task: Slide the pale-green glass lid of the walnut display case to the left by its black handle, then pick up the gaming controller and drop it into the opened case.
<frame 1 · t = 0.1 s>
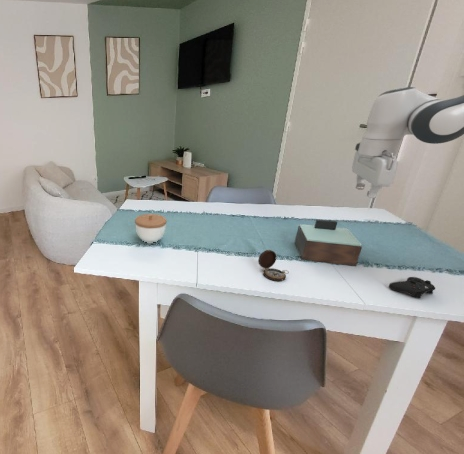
hand: (364, 193, 92), 23 cm above the table, tool pointing down, fingers open, 8 cm apart
case lid: (328, 230, 100), point 9 cm above the table, slide at 0.0 cm
display case: (322, 253, 103), on the table
lidded bowl: (150, 240, 120), on the table
gaming controller: (411, 291, 82), on the table
compass: (274, 275, 93), on the table
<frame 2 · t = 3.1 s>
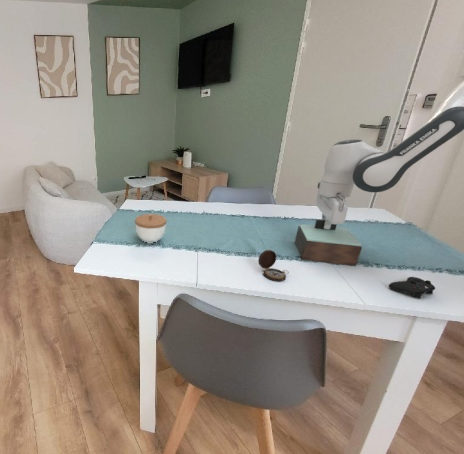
hand: (325, 226, 104), 8 cm above the table, tool pointing down, fingers closed on case lid
case lid: (328, 230, 100), point 9 cm above the table, slide at 0.0 cm, touching gripper
everything else where it was.
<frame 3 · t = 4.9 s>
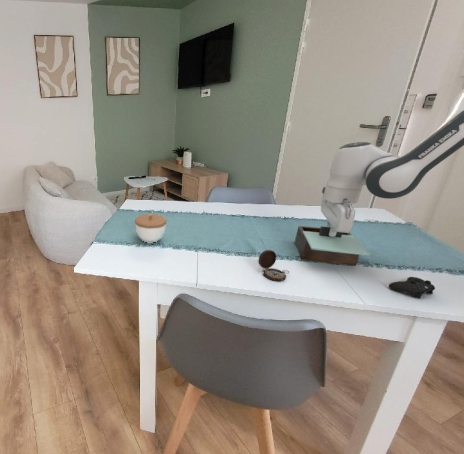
hand: (330, 234, 98), 8 cm above the table, tool pointing down, fingers closed on case lid
case lid: (334, 238, 94), point 9 cm above the table, slide at 6.5 cm, touching gripper
everything else where it was.
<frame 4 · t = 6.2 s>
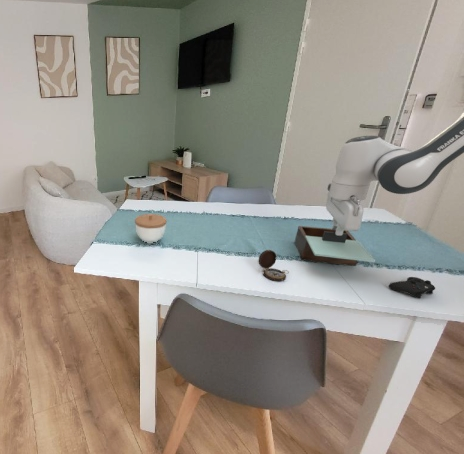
hand: (336, 232, 94), 11 cm above the table, tool pointing down, fingers closed, pressing on case lid
case lid: (338, 243, 91), point 9 cm above the table, slide at 10.6 cm, touching gripper
everything else where it was.
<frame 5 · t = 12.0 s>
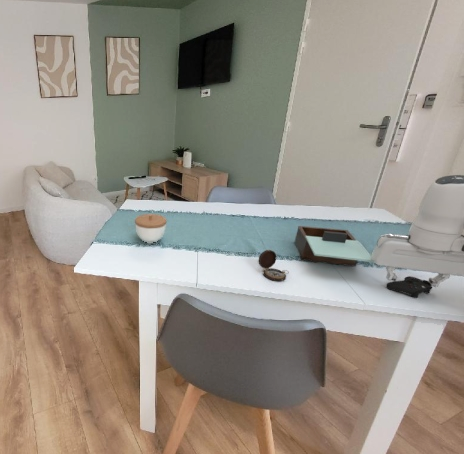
hand: (410, 282, 81), 3 cm above the table, tool pointing down, fingers closed on gaming controller, 7 cm apart
case lid: (338, 243, 91), point 9 cm above the table, slide at 10.7 cm
gaming controller: (408, 290, 82), on the table, touching gripper
everything else where it was.
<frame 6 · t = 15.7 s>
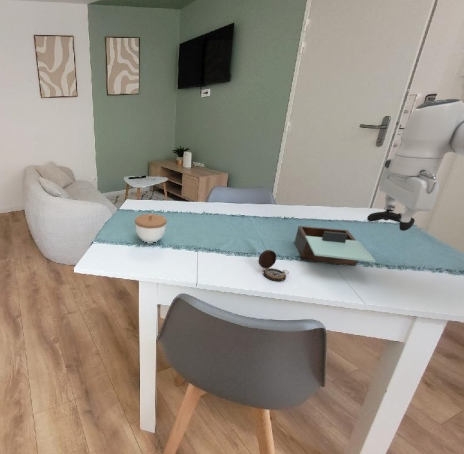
hand: (395, 215, 82), 20 cm above the table, tool pointing down, fingers closed on gaming controller, 7 cm apart
gaming controller: (390, 225, 83), point 17 cm above the table, touching gripper
everything else where it was.
when the fingers open (10 cm above the table, at t = 19.6 s): gaming controller drops 6 cm, resting on display case.
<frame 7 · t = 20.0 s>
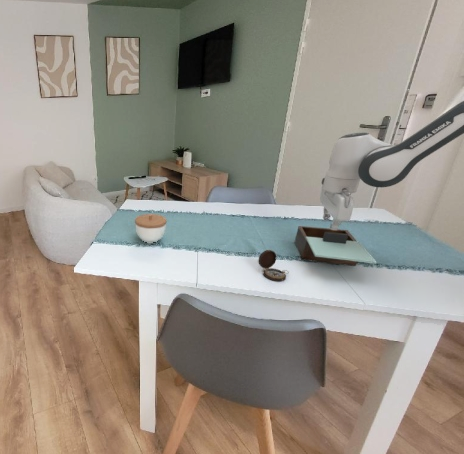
hand: (329, 224, 100), 11 cm above the table, tool pointing down, fingers open, 8 cm apart
case lid: (339, 244, 90), point 9 cm above the table, slide at 11.3 cm
gaming controller: (322, 250, 102), point 1 cm above the table, touching display case
everything else where it was.
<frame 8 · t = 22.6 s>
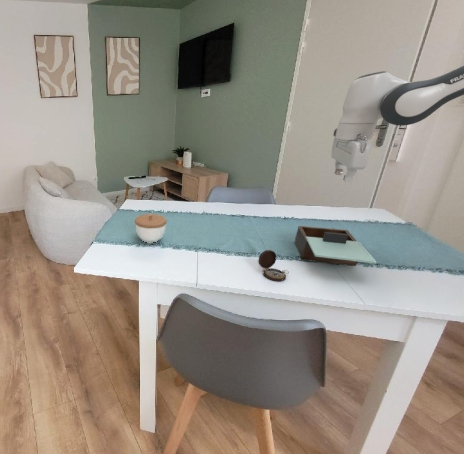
hand: (342, 177, 93), 27 cm above the table, tool pointing down, fingers open, 8 cm apart
nothing on the table moved.
at the end: case lid slide at 11.3 cm; gaming controller inside the target area on the display case (2.2 cm from its centre), point 1.4 cm above the display case's base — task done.
